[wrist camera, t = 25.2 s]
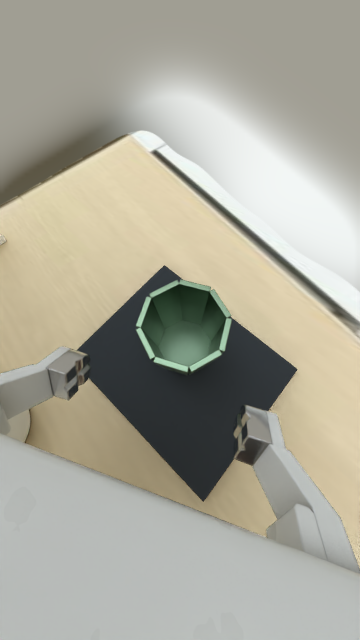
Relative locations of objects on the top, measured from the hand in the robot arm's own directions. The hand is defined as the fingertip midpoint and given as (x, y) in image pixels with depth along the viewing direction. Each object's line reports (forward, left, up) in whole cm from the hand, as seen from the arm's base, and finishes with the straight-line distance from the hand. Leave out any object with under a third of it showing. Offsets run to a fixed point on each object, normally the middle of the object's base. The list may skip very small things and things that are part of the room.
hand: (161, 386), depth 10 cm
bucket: (-3, +7, -7) cm, 10 cm away
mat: (-1, +2, -12) cm, 12 cm away
